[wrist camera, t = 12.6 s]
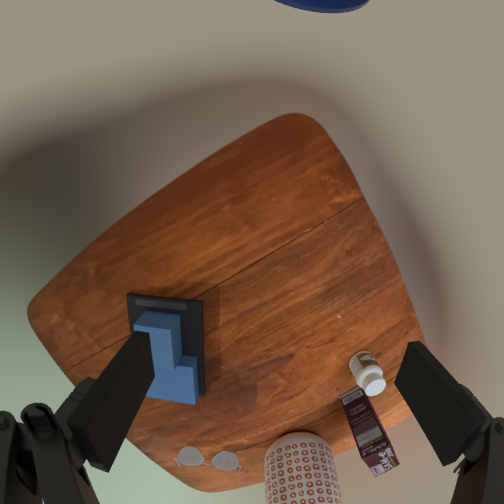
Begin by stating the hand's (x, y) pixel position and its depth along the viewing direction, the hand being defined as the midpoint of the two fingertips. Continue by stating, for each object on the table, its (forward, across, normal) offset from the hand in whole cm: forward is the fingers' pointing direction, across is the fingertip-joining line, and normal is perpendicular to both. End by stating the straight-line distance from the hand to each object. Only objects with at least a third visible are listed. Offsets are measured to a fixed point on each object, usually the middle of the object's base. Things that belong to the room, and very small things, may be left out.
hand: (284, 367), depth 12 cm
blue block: (+25, -15, -14) cm, 32 cm away
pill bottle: (+26, +17, -18) cm, 36 cm away
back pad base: (+26, -15, -17) cm, 34 cm away
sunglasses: (+26, -8, -48) cm, 55 cm away
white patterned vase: (+26, +10, -40) cm, 49 cm away
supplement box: (+26, +20, -28) cm, 43 cm away
